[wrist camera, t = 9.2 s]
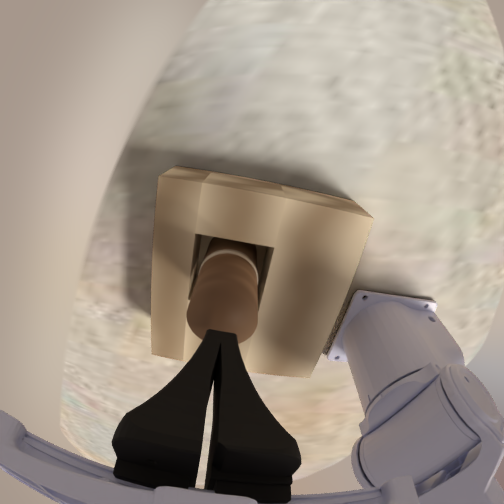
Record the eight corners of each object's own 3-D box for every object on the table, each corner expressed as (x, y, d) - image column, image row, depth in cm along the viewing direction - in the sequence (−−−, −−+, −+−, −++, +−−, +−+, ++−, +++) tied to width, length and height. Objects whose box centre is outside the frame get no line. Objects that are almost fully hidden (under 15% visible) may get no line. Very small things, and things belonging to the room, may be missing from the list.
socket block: (354, 201, 21) (374, 218, 17) (303, 346, 26) (309, 378, 23) (175, 165, 20) (158, 176, 16) (163, 324, 25) (151, 354, 22)
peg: (263, 237, 21) (268, 299, 14) (249, 280, 23) (247, 353, 15) (213, 222, 21) (192, 279, 14) (202, 267, 22) (180, 336, 15)
